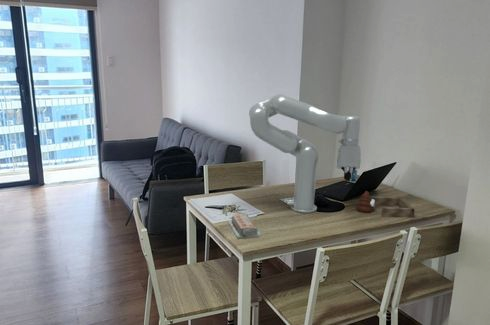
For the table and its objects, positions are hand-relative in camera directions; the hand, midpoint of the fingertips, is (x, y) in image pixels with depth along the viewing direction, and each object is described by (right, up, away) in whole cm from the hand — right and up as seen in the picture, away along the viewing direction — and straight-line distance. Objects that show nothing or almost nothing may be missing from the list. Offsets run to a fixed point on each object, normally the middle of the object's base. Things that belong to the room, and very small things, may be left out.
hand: (347, 180), depth 193 cm
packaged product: (-49, -20, -24) cm, 58 cm away
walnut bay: (+22, -15, +3) cm, 26 cm away
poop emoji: (+9, -15, +4) cm, 18 cm away
